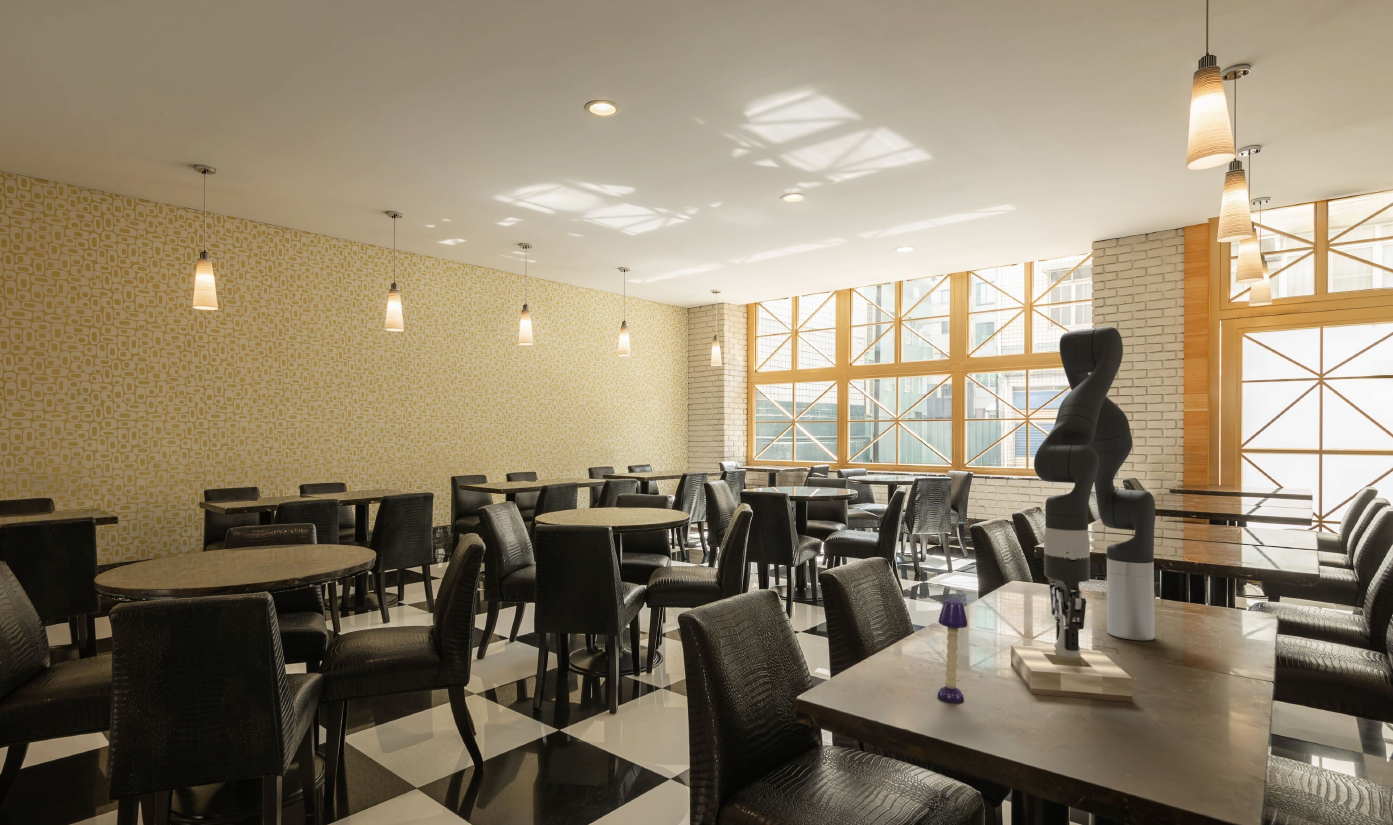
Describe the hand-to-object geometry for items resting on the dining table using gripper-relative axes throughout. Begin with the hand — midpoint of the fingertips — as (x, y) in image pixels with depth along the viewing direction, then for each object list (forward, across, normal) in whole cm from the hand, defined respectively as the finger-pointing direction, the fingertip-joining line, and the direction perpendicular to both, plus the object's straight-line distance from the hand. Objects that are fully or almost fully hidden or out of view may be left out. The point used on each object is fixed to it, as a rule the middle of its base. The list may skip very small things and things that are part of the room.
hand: (1067, 645), depth 131 cm
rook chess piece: (+2, 0, 0) cm, 2 cm away
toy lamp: (+7, +14, -22) cm, 27 cm away
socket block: (+7, 0, 0) cm, 7 cm away
